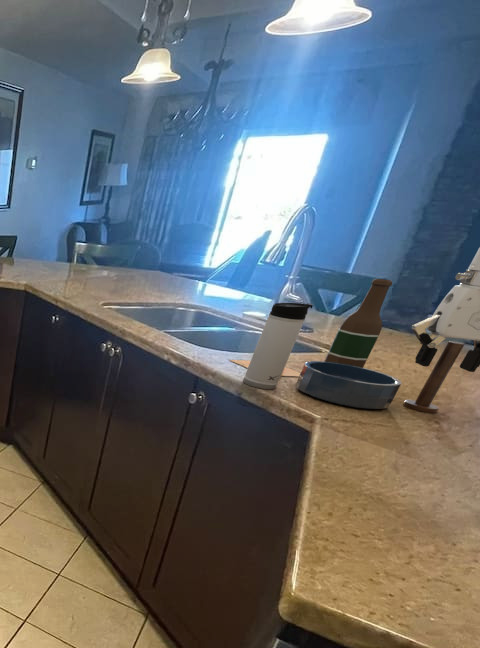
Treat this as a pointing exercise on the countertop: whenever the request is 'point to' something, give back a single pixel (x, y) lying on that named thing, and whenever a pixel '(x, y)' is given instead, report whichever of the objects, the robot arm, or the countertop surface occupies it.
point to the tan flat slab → (285, 373)
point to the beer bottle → (360, 328)
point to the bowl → (348, 385)
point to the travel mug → (275, 344)
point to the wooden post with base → (435, 379)
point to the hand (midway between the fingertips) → (444, 366)
